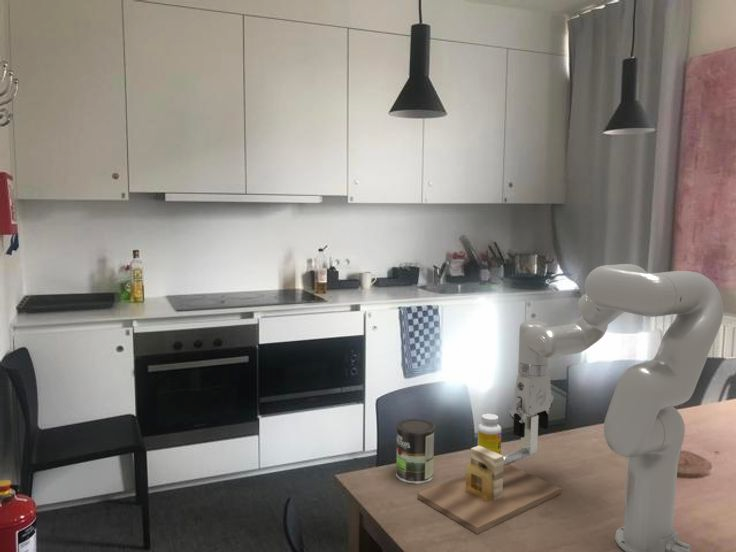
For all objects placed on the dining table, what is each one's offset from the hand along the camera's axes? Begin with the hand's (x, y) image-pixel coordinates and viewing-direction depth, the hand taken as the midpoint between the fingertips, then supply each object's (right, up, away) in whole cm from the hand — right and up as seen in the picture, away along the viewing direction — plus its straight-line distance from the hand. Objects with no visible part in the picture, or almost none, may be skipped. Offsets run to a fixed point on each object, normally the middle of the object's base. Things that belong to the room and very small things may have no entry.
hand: (530, 431), depth 156 cm
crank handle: (-6, -7, -4) cm, 10 cm away
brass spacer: (-16, -13, -10) cm, 23 cm away
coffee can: (-30, -13, +4) cm, 33 cm away
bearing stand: (-12, -14, -8) cm, 20 cm away
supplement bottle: (-8, -12, +14) cm, 20 cm away
